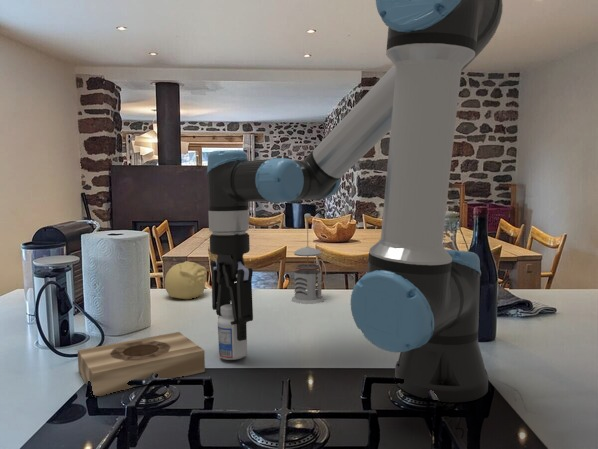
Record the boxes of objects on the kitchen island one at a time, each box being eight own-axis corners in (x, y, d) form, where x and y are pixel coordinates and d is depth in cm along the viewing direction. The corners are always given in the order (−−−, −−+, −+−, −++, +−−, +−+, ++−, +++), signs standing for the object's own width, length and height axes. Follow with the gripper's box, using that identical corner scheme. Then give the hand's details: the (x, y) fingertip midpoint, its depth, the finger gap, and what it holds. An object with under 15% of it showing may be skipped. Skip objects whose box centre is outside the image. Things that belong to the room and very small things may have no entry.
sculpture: (198, 302, 139) (197, 265, 138) (158, 301, 141) (157, 264, 140) (212, 293, 150) (211, 258, 149) (175, 292, 153) (174, 257, 152)
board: (204, 371, 89) (204, 350, 89) (93, 397, 79) (92, 373, 78) (179, 351, 100) (179, 331, 100) (78, 371, 89) (77, 350, 89)
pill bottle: (242, 349, 99) (241, 301, 98) (250, 358, 94) (249, 308, 93) (216, 353, 97) (214, 304, 96) (221, 362, 92) (220, 311, 91)
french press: (309, 294, 149) (309, 211, 147) (336, 301, 140) (336, 213, 138) (284, 299, 143) (283, 213, 141) (310, 307, 134) (310, 215, 132)
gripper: (270, 235, 88) (273, 361, 90) (226, 228, 103) (229, 336, 105) (233, 238, 84) (236, 370, 86) (192, 230, 99) (196, 343, 101)
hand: (232, 351), depth 96 cm, fingers closed on pill bottle, 5 cm apart
